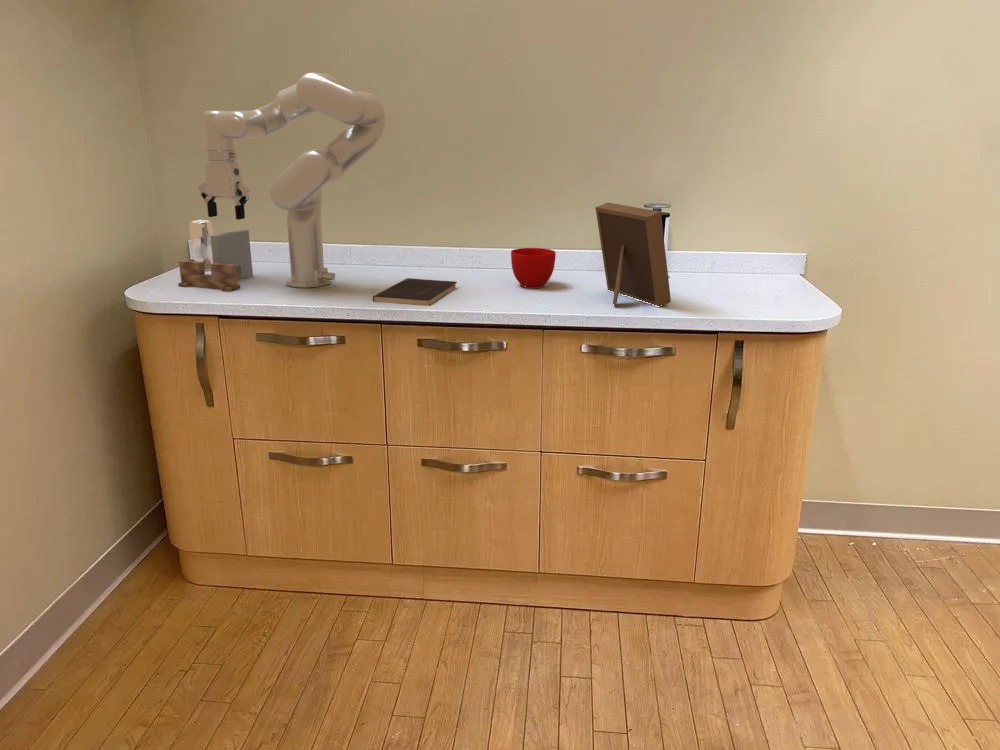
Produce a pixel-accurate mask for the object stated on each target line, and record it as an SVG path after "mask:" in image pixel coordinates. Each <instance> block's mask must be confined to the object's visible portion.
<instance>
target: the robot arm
mask: <svg viewBox="0 0 1000 750" xmlns="http://www.w3.org/2000/svg"><path fill="white" fill-rule="evenodd" d="M316 113H319V114H320V113H321V114H323V115H326V116H327V117H330V118H331V119H334V120H336V121H338V122H341V123H343V124H346V125H349V126H348V127H347V128H345V129H344V130H343V131H341V132H340V133H338V135H336V136H335V137H334V138H333V139H332V140H331V141H330V142H329V143H328V144H326V145H325V146H323V147H320V148H314V149H309V150H307V151H305V152H303V153H302V154H300V155H299V157H297V158H296V159H295V160H294V161H293V162H292V163H290V165H288V166H287V167H286V168H285V169H284V170H283V171H282V172H281V173H280V174H278V176H277V177H276V178H275V179H274V180H273V182H272V183H271V186H270V197H271V200H272V202H273V203H274V204H275V206H276V207H278V208H279V209H281V210H285V211H287V214H286V215H287V216H286V227H287V241H288V251H289V255H288V256H289V265H290V266H289V267H290V275H291V276H290V277H289V278H287V279H286V280H285V284H286V285H287V286H288V287H291V288H292V287H293V288H304V289H305V288H307V289H308V288H319V287H323V286H328V285H330V283H331V281H334V280H335V279H336V273H335V272H329V271H328V267H325V262H324V261H325V259H324V258H325V257H324V246H323V245H324V244H323V243H324V242H323V232H322V229H323V228H322V227H323V226H322V202H323V190H322V188H323V187H324V186H325V185H329V184H333V183H336V182H337V181H339V180H340V179H341V178H342V177H343V176H344V175H345V174H346V173H348V171H349V170H351V168H353V167H354V166H355V165H356V164H357V163H358V162H360V160H361V159H362V158H363V157H365V155H367V154H368V153H369V152H370V151H371V150H372V149H373V148H374V147H375V146H376V145H377V144H378V142H379V141H380V140H381V137H382V135H383V133H384V130H385V126H386V112H385V109H384V106H383V103H382V101H381V100H380V99H379V98H378V97H377V96H376V95H374V94H373V93H370V92H367V91H361V90H359V91H358V90H352V89H350V88H348V87H345V86H343V85H340V84H339V82H338V81H337V80H336V79H335V78H334V77H333V76H332V75H330V74H328V73H321V72H308V73H307V72H306V73H305V74H303V75H302V76H300V78H299V79H298V80H297V82H296V83H295V84H293V85H290V86H288V87H286V88H283V89H281V90H279V91H278V92H277V94H276V99H274V100H273V101H271V102H270V103H268V104H266V105H263V106H261V107H259V108H258V107H257V108H256V109H253V110H251V109H250V110H244V109H243V110H230V111H227V110H215V109H213V110H206V111H204V113H203V127H204V138H205V147H206V149H205V150H206V158H207V161H206V162H205V173H204V175H205V176H204V178H205V179H204V180H205V181H204V183H202V184H200V185H199V186H198V187H197V189H198V190H199V192H200V195H201V197H202V199H203V200H204V202H205V203H206V206H207V216H208V218H213V217H217V216H218V208H217V207H218V205H217V202H216V199H217V198H222V199H232V200H233V202H234V203H235V205H234V210H235V211H234V212H235V219H236V220H239V221H240V220H244V219H245V217H246V216H245V215H246V212H245V205H247V202H248V201H249V198H250V194H251V189H250V188H248V187H247V186H245V185H244V179H243V175H242V170H241V167H240V164H239V162H238V161H236V159H237V158H238V153H236V152H235V151H236V150H235V149H236V148H235V140H248V139H249V140H251V139H259V138H263V137H267V136H268V135H270V134H273V133H276V132H277V131H280V130H282V129H284V128H286V127H288V126H289V125H292V124H293V123H295V122H297V121H299V120H301V119H304V118H306V117H308V116H311V115H313V114H316Z"/></svg>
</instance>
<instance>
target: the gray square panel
mask: <svg viewBox="0 0 1000 750" xmlns="http://www.w3.org/2000/svg"><path fill="white" fill-rule="evenodd" d="M210 239H211V248H212V256H213V263H222V264H233V265H236V275H237V280H244V279H247V278H250V277H254V271H253V263H252V251H251V241H250V231H249V229H244V228H241V229H236V230H231V231H226V232H222V233H218V234H217V233H216V234H214V235H212V236H210Z"/></svg>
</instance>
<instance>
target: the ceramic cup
mask: <svg viewBox="0 0 1000 750" xmlns="http://www.w3.org/2000/svg"><path fill="white" fill-rule="evenodd" d="M556 254H557V253H556V251H555V250H554V249H548V248H543V247H542V248H541V247H522V248H516V249H512V250H511V252H510V260H511V261H510V263H511V269H512V272H513V276H514V277H515V279H516V280H517V281H518V283H519V284H520V286H521V285H522V286H521V287H523V286H526V287H525V288H527V287H539V288H542V287H541V286H543V287H544V286H546V284H547V282H548V281H549V280H550V279H551V277H552V275H553V272H554V269H555V264H556V257H557V256H556Z"/></svg>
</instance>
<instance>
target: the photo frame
mask: <svg viewBox="0 0 1000 750" xmlns="http://www.w3.org/2000/svg"><path fill="white" fill-rule="evenodd" d="M594 208H595V214H596V219H597V220H596V221H597V227H598V228H597V229H598V234H599V241H600V246H601V254H602V259H603V268H604V274H605V281H606V287H607V288H606V289H607V291H608V290H610V291H613V292H614V293H613V297H612V298H613V299H612V305H613V304H614V306H616V307H617V305H618V299H619V295H618V294H619V293H620V294H623V295H627V296H630V297H633V298H636V299H639V300H642V301H645V302H648V303H651V304H654V305H657V306H661V305H663V306H665V305H668V304H670V303H671V302H672V298H671V290H670V289H671V288H670V281H669V271H668V264H667V254H666V245H665V236H664V228H663V227H664V226H663V221H662V220H663V219H662V218H663V217H662V211H659V210H652V209H648V208H642V207H641V208H640V207H635V206H629V205H625V204H624V205H623V204H618V203H612V202H606V203H603V204H601V205H598V206H595V207H594ZM614 306H613V307H614ZM661 307H662V306H661Z"/></svg>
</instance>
